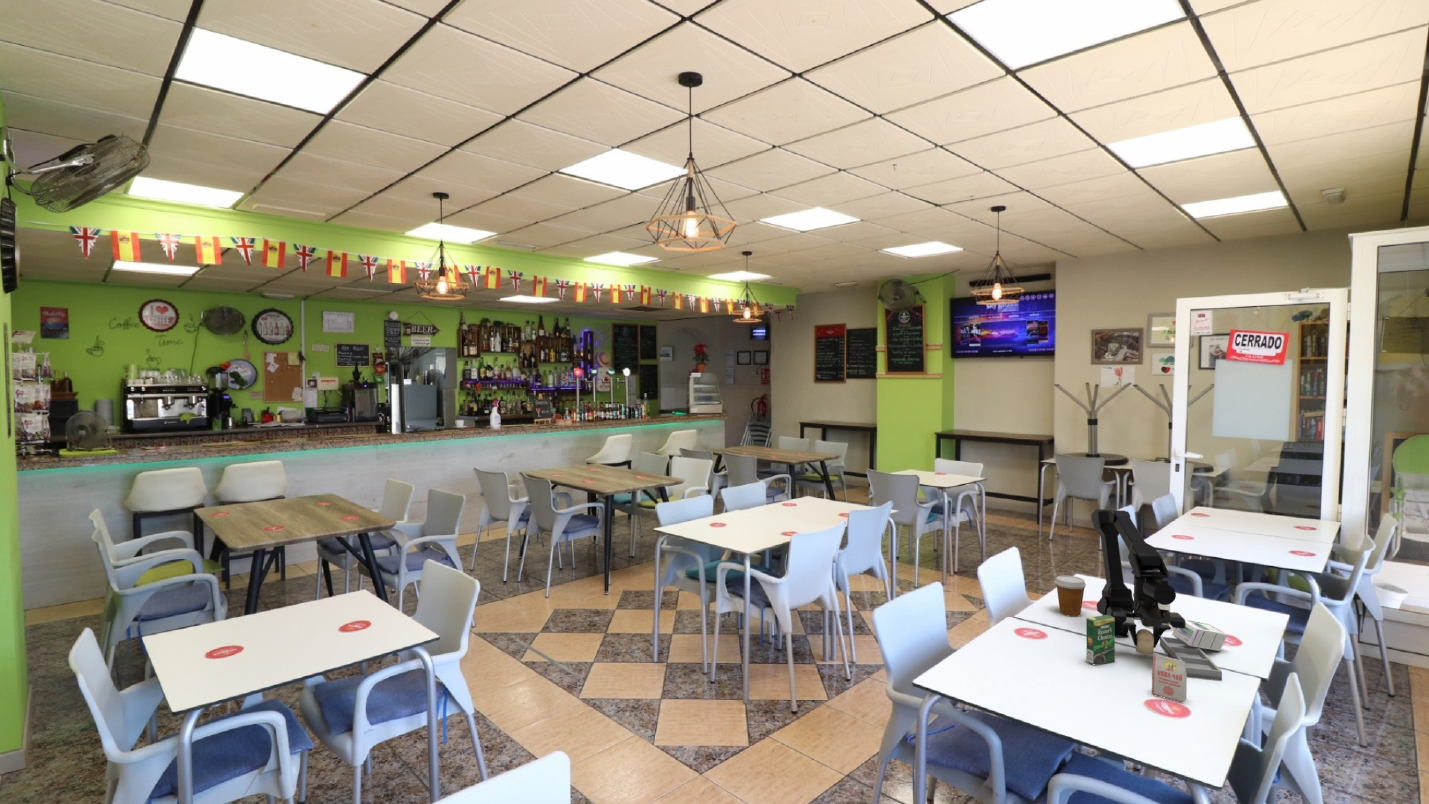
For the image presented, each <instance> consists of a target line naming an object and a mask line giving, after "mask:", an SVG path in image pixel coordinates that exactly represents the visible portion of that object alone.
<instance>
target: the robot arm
mask: <svg viewBox="0 0 1429 804" xmlns="http://www.w3.org/2000/svg"><path fill="white" fill-rule="evenodd" d="M1090 518H1091V522H1092V524H1093V529H1094V530H1095V532H1096V533H1097V534H1098V535H1099V537H1100V542H1101V543H1100V544H1101V548H1102V549H1101V550H1102V558H1103V566H1104V572H1105V573H1104V574H1105V575H1104V576H1105V584H1104V586H1103V589H1102V590H1101V598H1100V599H1099V601H1098V602H1097V603H1096V611H1097V612H1098V613H1099V614H1100V615H1101V616H1102V615H1110V616H1112V617H1114V618H1115V637H1121V638H1128V637H1129V634H1130V636H1131V639H1132V642H1133V644H1134V646H1135V647H1136V646H1137V636H1136V633H1137V624H1136V623H1135V620H1136V621H1140V622H1141V625H1142V626H1143V627H1145V626H1146V627H1145V628H1147V627H1149V626H1150V627H1153V629H1152V634H1153V636H1154V649H1155V648H1157V646H1158V644H1159V642H1160V637H1162V635H1163V634H1164V632H1167V631H1166V630H1170V629H1171V628H1170V626H1169V624H1170V625H1171V626H1172V627H1173V628H1186V622H1185V620H1186V618H1184V617H1183V616H1182V615H1181V614H1180V613H1179V612H1175V613H1174V612H1169V610H1162V609H1159V607H1158V603H1160V604H1162V605H1169V604H1170V605H1171V604H1172V603H1174V602H1175V600H1176V597H1177V594H1176V590H1175V589H1174V588H1173V587H1172V585H1169V580H1168V579H1169V575H1168V573H1169V570H1168V568H1167V566H1166V564H1165V561H1164V560H1163V557H1162V555H1161V554H1160V553H1159V551H1158V550H1157V549H1156V548H1155V547H1154V546H1153V545H1151V544H1148V543H1147V542H1146V541H1145V540H1144V538H1143V536H1142V534H1141V533H1140V532H1139V530H1138V528H1137V526H1136V525H1135V524H1134V522H1133V520H1132V519H1131V514H1130V512H1129V511H1128V510H1127V511H1126V510H1123V509H1122V510H1120V509H1113V508H1112V509H1111V508H1109V509H1108V508H1103V509H1102V508H1101V509H1100V508H1096V509H1094V512H1091V515H1090ZM1119 536H1120V538H1121V539H1122V541H1123V542H1124V544H1125V546H1126V547H1127V549H1128V554H1127V558H1128V562H1129V564H1130V566H1131V569H1132V570H1131V572H1130V573H1131V574H1132V575H1133V576H1134V577H1133V591H1132V589H1131V588H1128V586H1127V585H1126V584H1125V581H1124V574H1123V567H1122V560H1121V559H1122V558H1121V551H1120V542H1119Z"/></svg>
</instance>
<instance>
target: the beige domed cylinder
mask: <svg viewBox="0 0 1429 804" xmlns="http://www.w3.org/2000/svg"><path fill="white" fill-rule="evenodd" d="M1136 636H1137V646H1135V651H1136V652H1137V653H1139V654H1140V655H1147V656H1152V655H1154V654H1155V653H1154V652H1155V648H1154V636H1153V632H1152V631H1150V630H1149V629H1148V628H1147V629H1146V628H1141V629H1139V630H1136Z"/></svg>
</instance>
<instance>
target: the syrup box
mask: <svg viewBox="0 0 1429 804" xmlns="http://www.w3.org/2000/svg"><path fill="white" fill-rule="evenodd" d="M1185 622H1186V628H1174V630H1173V631H1172V633H1171V635H1172V636H1173V638H1178V639H1179V640H1181V641H1182V642H1184V643H1186V644H1187V645H1189V646H1194V647H1199V648H1200V649H1205V650H1212V651H1218V652H1220V651H1221V649H1222V648H1223V645H1224V643H1225V641H1226V639H1227V637H1228V634H1227V633H1226V632H1224V631H1222V630H1220V629H1219V628H1217V627H1215V626H1214V625H1211V624H1210V623H1209V624H1208V623H1205V622H1199V621H1195V620H1194V621H1193V620H1190V619H1185Z"/></svg>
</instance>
